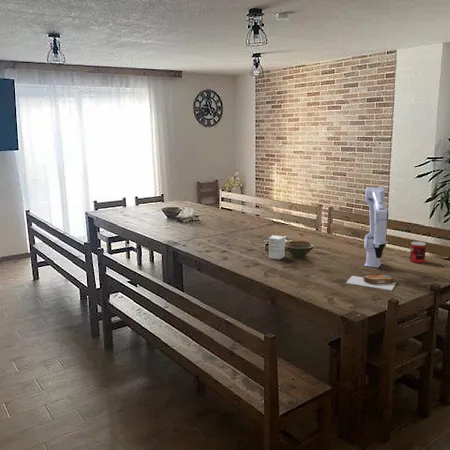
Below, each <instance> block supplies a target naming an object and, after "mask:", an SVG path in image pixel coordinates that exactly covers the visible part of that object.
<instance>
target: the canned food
mask: <svg viewBox="0 0 450 450" xmlns="http://www.w3.org/2000/svg"><path fill="white" fill-rule="evenodd" d="M426 249H427V244H426V242H423V241H411V243H410V253H409V254H410V255H409V261H410V262H411V263H413V264H423V263H425V261H426V252H427V251H426Z"/></svg>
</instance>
